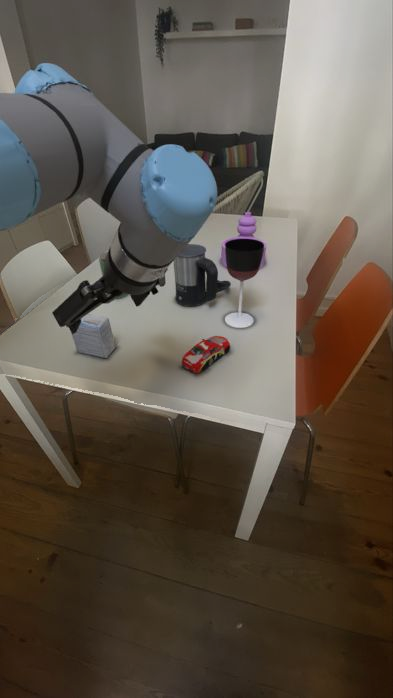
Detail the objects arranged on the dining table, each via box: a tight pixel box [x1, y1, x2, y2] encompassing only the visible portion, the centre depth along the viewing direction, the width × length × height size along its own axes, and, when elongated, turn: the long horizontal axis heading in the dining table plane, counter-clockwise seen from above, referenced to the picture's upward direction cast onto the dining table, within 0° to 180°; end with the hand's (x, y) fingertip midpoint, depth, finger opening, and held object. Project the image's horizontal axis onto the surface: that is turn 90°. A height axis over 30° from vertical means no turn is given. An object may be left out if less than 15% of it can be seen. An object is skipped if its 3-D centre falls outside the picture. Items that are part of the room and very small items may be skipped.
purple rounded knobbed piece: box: [220, 211, 267, 269], centre depth 113 cm, size 25×15×13 cm, turn 169°
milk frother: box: [173, 243, 232, 307], centre depth 90 cm, size 14×16×15 cm
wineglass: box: [224, 239, 264, 329], centre depth 78 cm, size 8×9×20 cm
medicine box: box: [70, 313, 116, 359], centre depth 72 cm, size 8×4×9 cm, turn 71°
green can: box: [98, 251, 129, 300], centre depth 93 cm, size 7×7×12 cm
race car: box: [181, 335, 231, 374], centre depth 70 cm, size 13×5×4 cm, turn 137°
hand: (104, 312), depth 60 cm, fingers open, 13 cm apart
